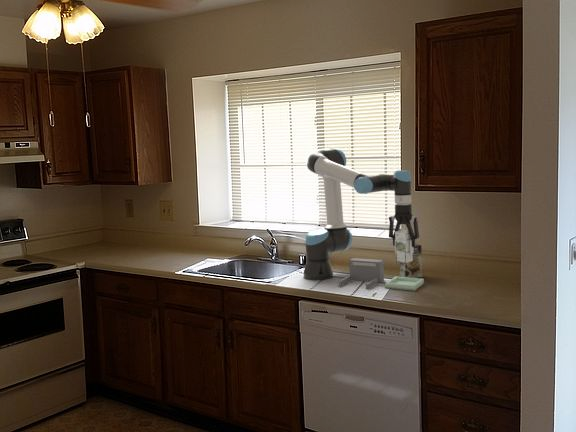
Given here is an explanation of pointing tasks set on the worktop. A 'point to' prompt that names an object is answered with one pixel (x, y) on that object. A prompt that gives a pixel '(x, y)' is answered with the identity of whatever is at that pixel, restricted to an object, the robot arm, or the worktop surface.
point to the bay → (365, 271)
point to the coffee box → (413, 264)
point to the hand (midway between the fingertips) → (404, 253)
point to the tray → (404, 283)
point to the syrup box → (403, 246)
